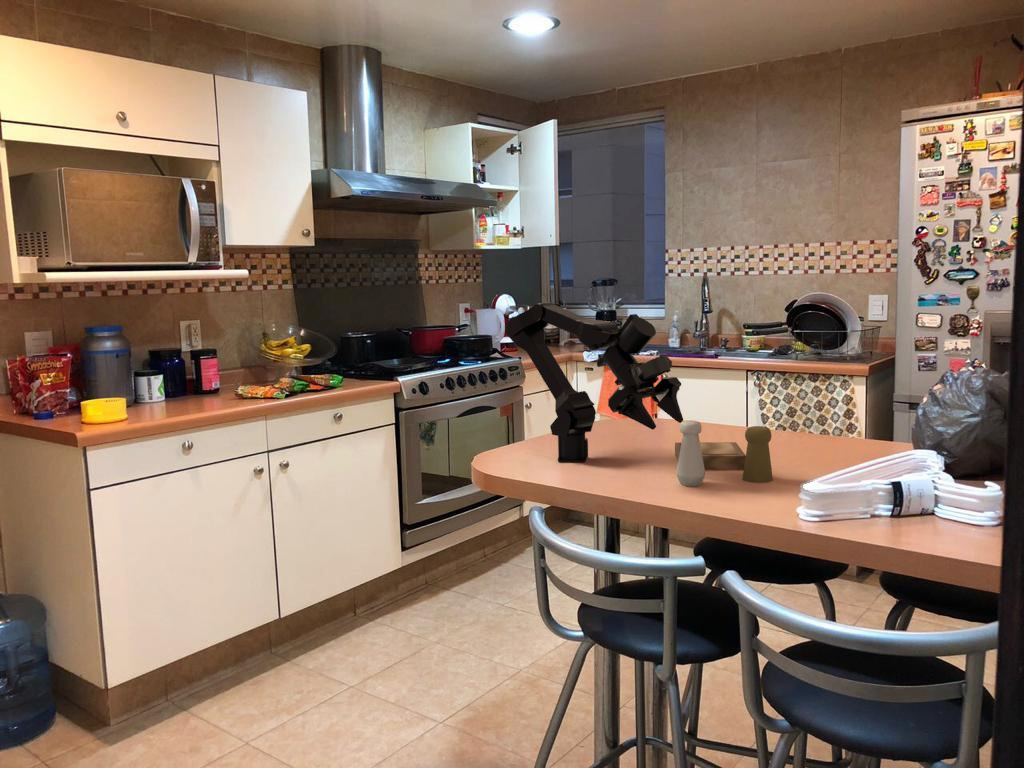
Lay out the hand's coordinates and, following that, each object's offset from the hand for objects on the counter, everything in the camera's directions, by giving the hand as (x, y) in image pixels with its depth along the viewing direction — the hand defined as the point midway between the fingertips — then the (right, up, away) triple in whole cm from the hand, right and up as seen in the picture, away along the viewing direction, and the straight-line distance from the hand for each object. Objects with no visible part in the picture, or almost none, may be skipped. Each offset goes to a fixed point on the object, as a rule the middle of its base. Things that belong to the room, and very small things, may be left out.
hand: (668, 424), depth 168 cm
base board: (+12, -9, +16) cm, 22 cm away
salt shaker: (+4, -12, -2) cm, 13 cm away
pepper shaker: (+18, -11, 0) cm, 22 cm away
